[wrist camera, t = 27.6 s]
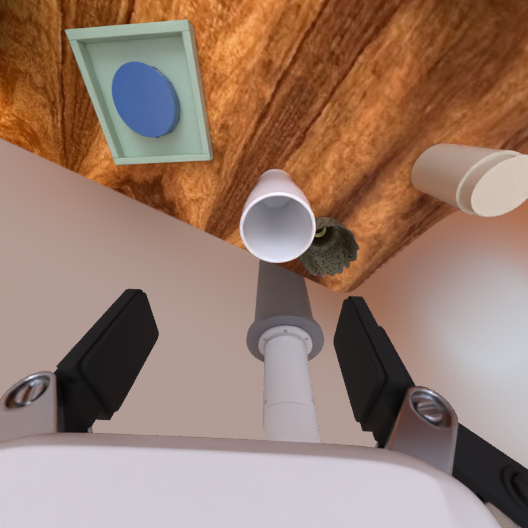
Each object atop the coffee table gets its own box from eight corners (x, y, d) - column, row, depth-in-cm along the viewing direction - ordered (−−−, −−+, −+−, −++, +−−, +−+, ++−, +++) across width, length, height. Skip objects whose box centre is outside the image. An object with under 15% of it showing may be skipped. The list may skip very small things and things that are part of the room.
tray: (213, 158, 30) (210, 160, 28) (123, 162, 31) (115, 165, 29) (193, 26, 23) (187, 19, 22) (78, 35, 24) (64, 29, 22)
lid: (117, 57, 24) (106, 53, 23) (181, 74, 25) (174, 71, 23) (125, 129, 28) (116, 129, 26) (180, 142, 29) (174, 143, 27)
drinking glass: (241, 189, 32) (222, 232, 19) (274, 150, 29) (277, 172, 17) (275, 219, 34) (277, 276, 22) (308, 187, 32) (333, 230, 19)
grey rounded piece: (286, 218, 34) (289, 242, 28) (332, 196, 32) (348, 215, 26) (305, 255, 38) (312, 284, 31) (348, 237, 36) (365, 264, 29)
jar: (449, 191, 31) (520, 218, 23) (404, 193, 32) (456, 221, 23) (469, 141, 28) (561, 150, 19) (418, 144, 28) (486, 154, 20)
